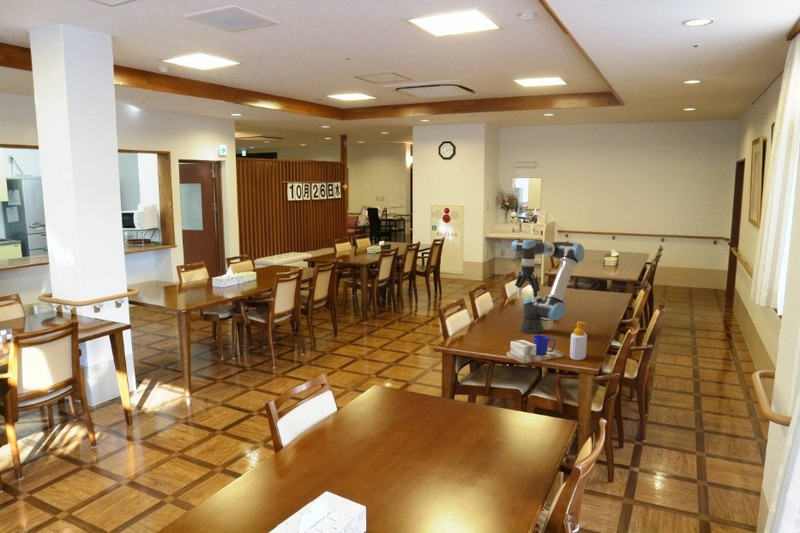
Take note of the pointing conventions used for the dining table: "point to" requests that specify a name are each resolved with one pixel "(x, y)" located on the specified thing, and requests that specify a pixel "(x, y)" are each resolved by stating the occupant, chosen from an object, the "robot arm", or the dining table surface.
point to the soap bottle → (578, 343)
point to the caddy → (529, 352)
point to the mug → (542, 344)
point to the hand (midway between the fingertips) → (526, 300)
